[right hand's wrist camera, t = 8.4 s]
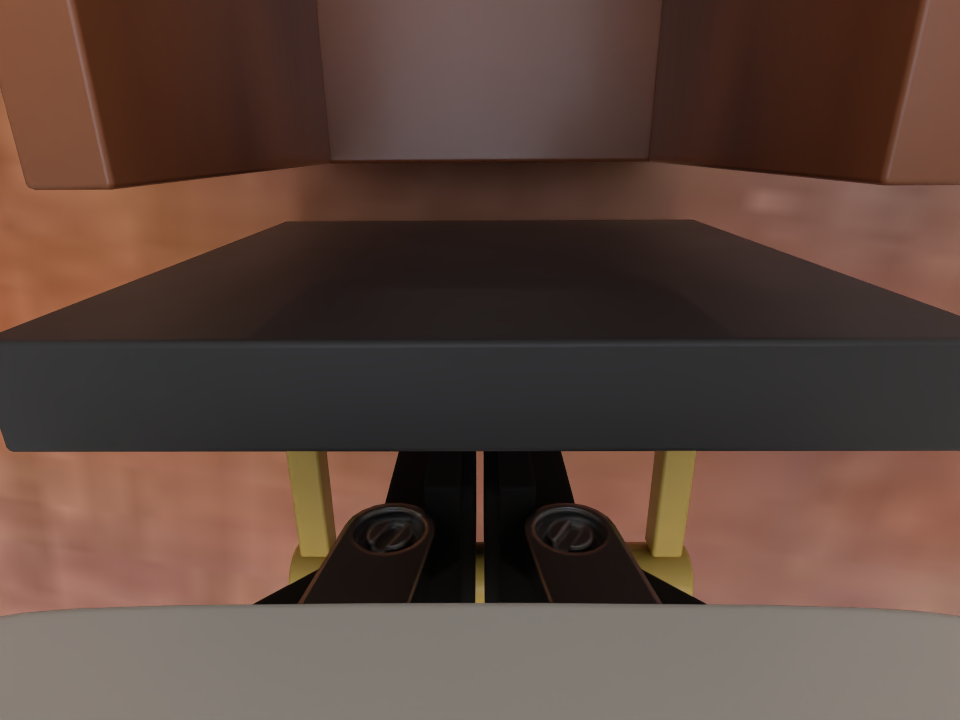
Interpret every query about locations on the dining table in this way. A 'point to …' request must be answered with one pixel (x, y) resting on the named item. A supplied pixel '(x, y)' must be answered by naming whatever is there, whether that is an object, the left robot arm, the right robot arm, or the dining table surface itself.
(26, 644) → the right robot arm
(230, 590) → the dining table surface
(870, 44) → the drawer
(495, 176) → the dining table surface
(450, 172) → the dining table surface
